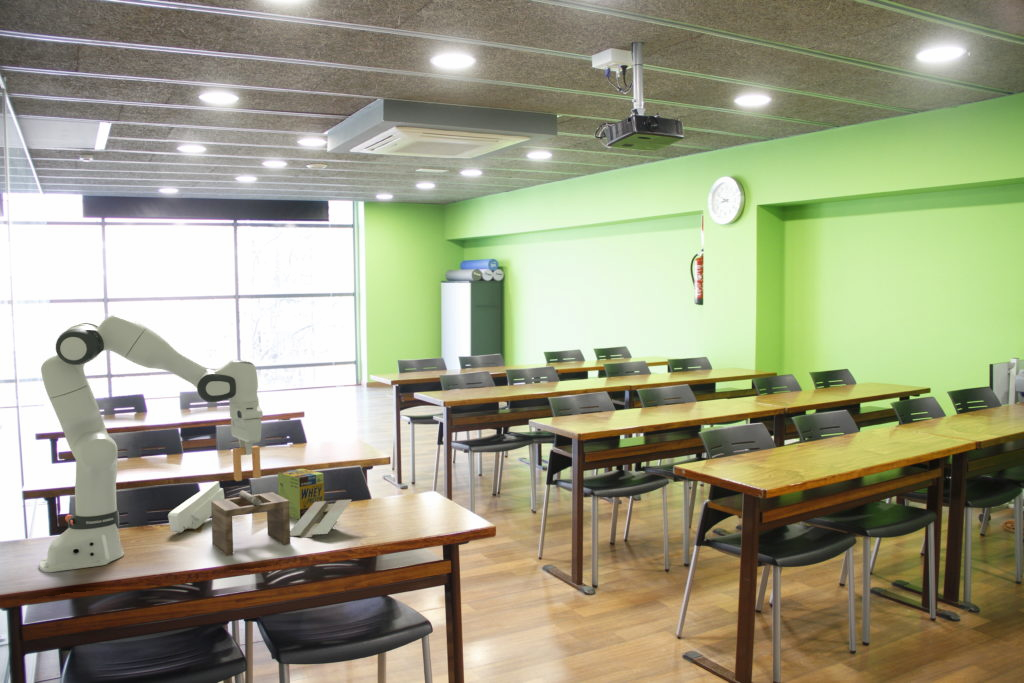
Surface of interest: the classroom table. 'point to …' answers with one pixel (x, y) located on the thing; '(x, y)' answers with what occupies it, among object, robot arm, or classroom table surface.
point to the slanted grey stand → (319, 518)
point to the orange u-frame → (255, 462)
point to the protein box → (301, 489)
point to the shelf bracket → (195, 509)
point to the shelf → (229, 507)
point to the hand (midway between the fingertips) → (246, 453)
